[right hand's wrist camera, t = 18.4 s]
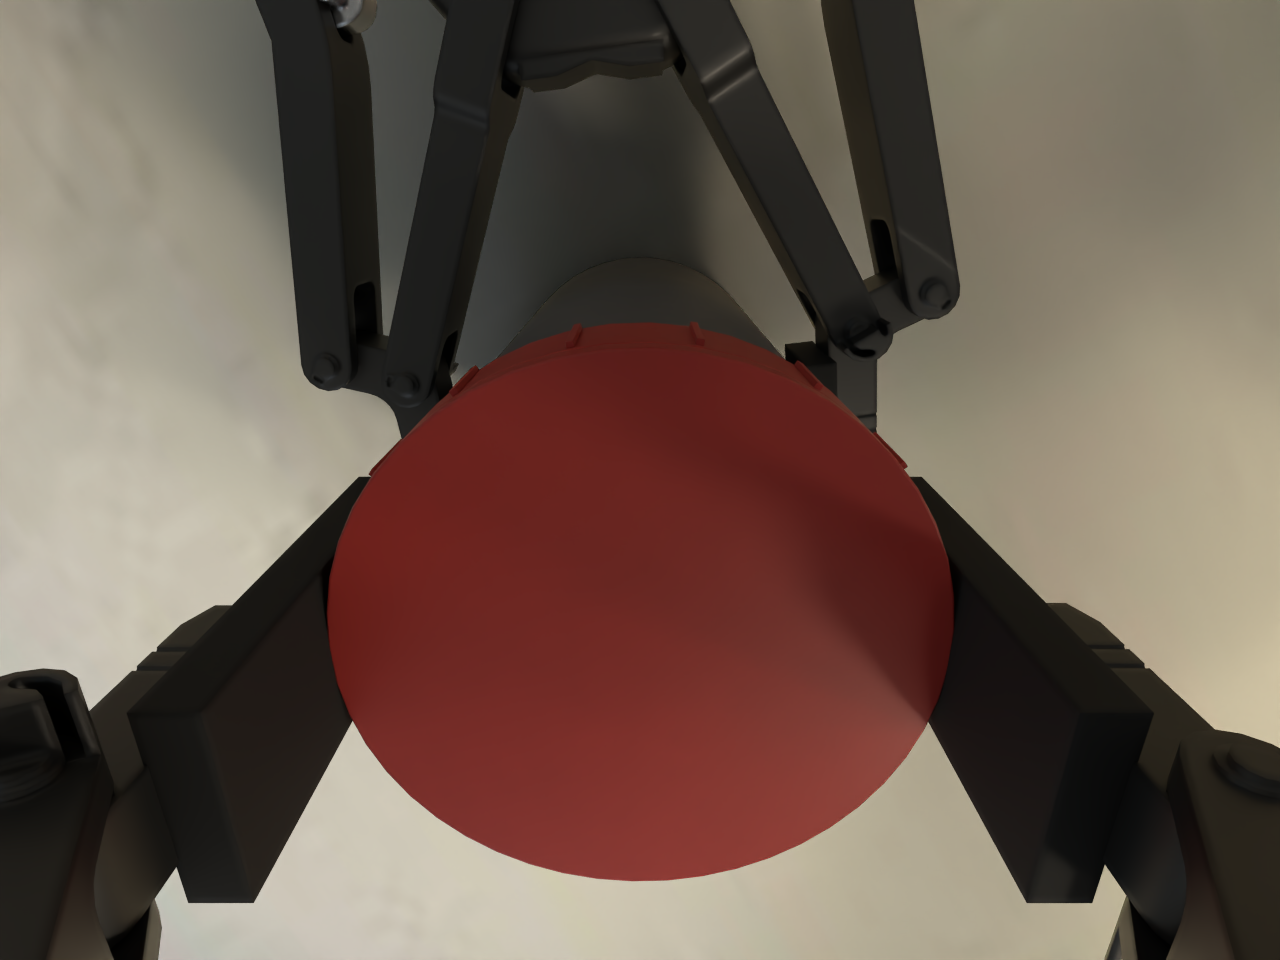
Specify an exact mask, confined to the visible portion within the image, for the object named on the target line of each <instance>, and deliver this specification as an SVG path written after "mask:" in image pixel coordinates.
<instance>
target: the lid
mask: <svg viewBox="0 0 1280 960" xmlns="http://www.w3.org/2000/svg"><path fill="white" fill-rule="evenodd" d="M907 467H908V466H907V465H906V463H905V462H904V461H903V460H902V459H901V457H900V456H899V455H898V454H897V453H896V452H895V451H894V450H893V449H892V448H891V447H890V446H889V445H888V444H887V443H886V442H885V441H884V440H883V439H882V438H881V437H880V436H879V435H878V434H877V433H876V432H874V433H872V432H871V431H870V430H869V429H868V428H867V427H866V426H865V425H864V424H863V423H862V422H861V421H860V420H859V419H858V418H857V417H856V416H855V415H854V414H853V413H852V412H851V411H850V410H849V409H848V408H847V407H846V406H845V405H844V404H843V403H842V402H841V401H840V400H839V399H838V398H837V397H836V396H835V395H834V394H833V393H832V392H831V391H830V390H829V389H828V388H826V387H825V386H824V385H823V384H822V383H821V382H820V381H819V380H818V379H817V378H816V377H815V376H814V375H813V374H812V373H811V372H810V370H809V369H808V368H807V367H806V366H805V365H804V364H803V363H801V362H800V361H798V360H797V362H796V363H795V364H792V363H790V362H788V361H786V360H785V359H783V358H781V357H779V356H777V355H775V354H774V353H772V352H770V351H768V350H766V349H764V348H761V347H758V346H756V345H753V344H751V343H748V342H745V341H743V340H740V339H737V338H735V337H732V336H730V335H725V334H721V333H717V332H713V331H708V330H704V329H700V327H699V325H698V323H697V322H692V321H691V322H690V326H682V325H672V324H661V323H651V322H647V323H619V324H605V325H600V326H594V327H588V328H582V325H581V323H579V324H574V325H573V327H572V329H571V330H570V331H567V332H563V333H560V334H557V335H554V336H551V337H547V338H544V339H541V340H538V341H534V342H531V343H529V344H527V345H525V346H523V347H521V348H519V349H516V350H514V351H512V352H510V353H508V354H506V355H504V356H501V357H499V358H497V359H495V360H494V361H492V362H491V363H489V364H488V365H486V366H485V367H483V368H482V369H480V370H479V369H478V367H477V366H476V365H475V366H474V367H472V368H471V369H470V370H469V371H468V372H467V373H466V374H465V375H464V376H463V377H462V378H461V379H460V380H459V381H458V382H457V383H456V384H455V385H454V386H453V387H452V388H451V390H450V391H449V394H447V395H446V396H445V397H444V398H443V399H442V400H440V401H439V402H438V403H437V404H436V405H435V406H434V407H433V408H432V409H431V410H430V411H429V412H428V413H427V414H426V415H425V416H424V418H423V419H422V420H421V421H420V422H419V423H418V424H417V425H416V426H415V427H414V428H413V429H412V430H411V431H410V432H409V433H408V434H407V435H406V436H405V437H404V438H403V439H400V440H399V441H398V443H397V444H396V445H395V446H394V447H393V448H392V449H391V450H390V451H389V452H388V453H387V454H386V455H385V456H384V457H383V458H382V459H381V460H380V461H379V462H378V463H377V464H376V465H375V466H374V467H373V468H372V470H371V471H370V473H369V475H370V476H371V478H370V480H369V481H368V483H367V484H366V486H365V488H364V489H363V491H362V493H361V494H360V496H359V497H358V499H357V501H356V502H355V504H354V505H353V507H352V510H351V512H350V514H349V517H348V519H347V522H346V524H345V526H344V529H343V531H342V533H341V536H340V538H339V541H338V544H337V548H336V552H335V556H334V560H333V565H332V569H331V573H330V577H329V588H328V600H327V613H326V614H327V627H328V639H329V645H330V651H331V656H332V661H333V666H334V671H335V676H336V681H337V684H338V687H339V689H340V692H341V694H342V697H343V700H344V702H345V705H346V707H347V710H348V712H349V715H350V717H351V718H352V720H353V722H354V724H355V725H356V727H357V729H358V731H359V733H360V734H361V736H362V738H363V740H364V741H365V743H366V745H367V746H368V747H369V749H370V750H371V751H372V753H373V754H374V755H375V757H376V758H377V759H378V761H379V762H380V763H381V765H382V766H383V767H384V769H385V770H386V771H387V772H388V773H389V775H390V776H391V777H392V778H393V779H394V780H395V781H396V782H397V783H398V784H399V785H400V786H401V787H402V788H403V789H404V790H405V791H406V792H407V793H408V794H409V795H410V796H411V797H412V798H413V799H415V800H416V801H417V802H418V803H420V804H421V805H422V806H423V807H424V808H426V809H427V810H428V811H429V812H431V813H432V814H433V815H434V816H436V817H437V818H438V819H440V820H441V821H443V822H445V823H446V824H448V825H449V826H451V827H452V828H454V829H455V830H457V831H459V832H460V833H462V834H463V835H465V836H466V837H468V838H470V839H472V840H474V841H476V842H478V843H480V844H482V845H484V846H486V847H488V848H490V849H492V850H494V851H496V852H499V853H502V854H504V855H507V856H510V857H512V858H515V859H517V860H520V861H523V862H525V863H528V864H531V865H535V866H539V867H542V868H546V869H550V870H554V871H557V872H561V873H566V874H572V875H578V876H584V877H590V878H596V879H608V880H622V881H661V880H674V879H683V878H691V877H699V876H705V875H710V874H714V873H719V872H723V871H728V870H732V869H737V868H740V867H743V866H746V865H749V864H752V863H755V862H758V861H761V860H764V859H768V858H770V857H773V856H775V855H777V854H779V853H782V852H784V851H786V850H788V849H791V848H793V847H795V846H798V845H800V844H802V843H804V842H805V841H807V840H809V839H811V838H812V837H814V836H816V835H818V834H819V833H821V832H823V831H825V830H826V829H828V828H830V827H831V826H833V825H834V824H836V823H837V822H838V821H840V820H841V819H842V818H844V817H845V816H847V815H848V814H849V813H851V812H852V811H853V810H855V809H856V808H858V807H859V806H860V805H861V804H862V803H863V802H864V801H865V800H866V799H868V798H869V797H870V796H871V795H872V794H873V793H874V792H875V791H876V790H877V789H878V788H880V787H881V786H882V785H883V784H884V783H885V782H886V780H887V779H888V778H889V777H890V776H891V775H892V773H893V772H894V771H895V770H896V769H897V767H898V766H899V765H900V764H901V763H902V762H903V760H904V759H905V758H906V757H907V755H908V754H909V752H910V751H911V749H912V747H913V746H914V744H915V743H916V741H917V740H918V738H919V737H920V735H921V734H922V732H923V731H924V729H925V727H926V725H927V723H928V720H929V718H930V716H931V714H932V712H933V710H934V708H935V706H936V704H937V701H938V699H939V697H940V693H941V690H942V687H943V684H944V680H945V675H946V671H947V666H948V661H949V655H950V649H951V644H952V638H953V633H954V591H953V585H952V579H951V573H950V567H949V561H948V557H947V554H946V551H945V548H944V545H943V542H942V539H941V536H940V533H939V530H938V527H937V524H936V522H935V520H934V518H933V516H932V514H931V512H930V510H929V508H928V506H927V504H926V503H925V501H924V499H923V497H922V495H921V493H920V491H919V489H918V488H917V486H916V485H915V484H914V482H913V481H912V479H911V478H910V477H909V475H908V474H907V473H906V471H905V470H904V469H905V468H907Z"/></svg>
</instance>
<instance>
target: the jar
mask: <svg viewBox="0 0 1280 960" xmlns="http://www.w3.org/2000/svg"><path fill="white" fill-rule="evenodd" d="M691 321H692V322H697V323H698V325H699V327H700V329H704V330H708V331H713V332H717V333H721V334H725V335H730V336H732V337H735V338H737V339H740V340H743V341H745V342H748V343H751V344H753V345H756V346H758V347H761V348H764V349H766V350H768V351H770V352H772V353H774V354H775V355H777V356H779V357H781V358H783V357H782V356H781V354H780V353H779V352H778V351H777V350H776V349H775V347H774V346H773V345H772V344H771V343H770V342H769V341H768V339H767V338H766V337H765V336H764V335H763V334H762V332H761V331H760V330H759V329H758V328H757V327H756V325H755V324H754V323H753V322H752V321H751V320H750V318H749V317H748V316H747V315H746V314H745V313H744V311H743V310H742V309H741V308H740V307H739V306H738V305H737V303H736V302H735V301H734V300H733V299H732V298H731V296H730V295H729V294H728V293H727V292H726V291H724V290H723V289H722V288H721V287H720V286H719V285H718V284H717V283H715V282H714V281H712V280H711V279H709V278H708V277H706V276H705V275H703V274H701V273H699V272H697V271H695V270H693V269H691V268H689V267H687V266H684V265H681V264H678V263H675V262H672V261H667V260H662V259H656V258H639V257H638V258H626V259H619V260H614V261H610V262H606V263H603V264H600V265H597V266H595V267H592V268H589V269H587V270H585V271H584V272H582V273H580V274H578V275H576V276H574V277H573V278H572V279H570V280H569V281H568V282H566V283H565V284H563V285H562V286H561V287H560V288H559V289H558V290H557V291H556V292H555V293H554V294H552V295H551V296H550V297H549V298H548V300H547V301H546V302H545V303H544V304H543V305H542V307H541V308H540V309H539V310H538V311H537V312H536V314H535V315H534V316H533V317H532V318H531V319H530V320H529V322H528V323H527V324H526V325H525V326H524V327H523V329H522V330H521V331H520V332H519V333H518V334H517V336H516V337H515V338H514V339H513V340H512V341H511V343H510V344H509V345H508V346H507V347H506V348H505V349H504V351H503V352H502V353H501V354H500V355H499V356H498V358H499V357H501V356H504V355H506V354H508V353H510V352H512V351H514V350H516V349H519V348H521V347H523V346H525V345H527V344H529V343H531V342H534V341H538V340H541V339H544V338H547V337H551V336H554V335H557V334H560V333H563V332H567V331H570V330H571V329H572V327H573V325H574V324H579V323H581V325H582V328H588V327H594V326H600V325H605V324H619V323H647V322H651V323H661V324H672V325H682V326H690V322H691ZM783 359H784V358H783Z"/></svg>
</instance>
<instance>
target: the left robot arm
mask: <svg viewBox="0 0 1280 960" xmlns="http://www.w3.org/2000/svg"><path fill="white" fill-rule="evenodd" d="M255 1H256V3H257V6H258V8H259V11H260V13H261V16H262V18H263V21H264V23H265V26H266V28H267V31H268V33H269V36H270V38H271V41H272V52H273V62H274V73H275V84H276V95H277V106H278V117H279V127H280V138H281V149H282V160H283V171H284V182H285V193H286V203H287V214H288V225H289V236H290V247H291V258H292V268H293V279H294V290H295V301H296V312H297V323H298V333H299V344H300V355H301V365H302V369H303V372H304V375H305V376H306V378H307V379H308V380H309V382H310V383H312V384H313V385H314V386H316V387H317V388H319V389H323V390H326V391H332V390H338V389H340V388H347V389H351V390H356V391H360V392H365V393H369V394H372V395H375V396H378V397H379V398H381V399H383V400H384V401H385V402H386V403H387V404H388V405H389V406H390V407H391V409H392V410H393V412H394V413H395V416H396V419H397V422H398V426H399V430H400V434H401V438H402V439H403V438H404V437H405V436H406V435H407V434H408V433H409V432H410V431H411V430H412V429H413V428H414V427H415V426H416V425H417V424H418V423H419V422H420V421H421V420H422V419H423V418H424V416H425V415H426V414H427V413H428V412H429V411H430V410H431V409H432V408H433V407H434V406H435V405H436V404H437V403H438V402H439V401H440V400H442V399H443V398H444V397H445V396H446V395H447V394H449V391H450V390H451V388H452V387H453V386H452V381H451V377H450V376H451V375H452V374H453V373H454V372H455V371H456V369H457V366H458V363H454V362H455V357H456V353H457V349H458V345H459V341H460V337H461V332H462V328H463V324H464V320H465V316H466V312H467V308H468V303H469V299H470V295H471V291H472V287H473V283H474V278H475V274H476V270H477V266H478V262H479V258H480V254H481V249H482V245H483V241H484V237H485V233H486V229H487V225H488V220H489V216H490V212H491V208H492V204H493V200H494V195H495V191H496V187H497V183H498V179H499V175H500V171H501V166H502V162H503V158H504V154H505V150H506V146H507V142H508V139H509V136H510V134H511V132H512V130H513V128H514V125H515V123H516V119H517V115H518V111H519V107H520V103H521V99H522V95H523V91H524V87H527V88H530V89H531V90H532V91H533V92H541V91H549V90H556V89H563V88H567V87H569V86H571V85H573V84H576V83H578V82H580V81H582V80H584V79H586V78H589V77H591V76H593V75H596V74H600V75H606V76H613V77H619V78H625V79H637V78H645V77H652V76H659V75H662V72H663V70H664V69H666V68H668V67H670V66H672V68H673V69H674V71H675V73H676V75H677V77H678V79H679V81H680V83H681V84H682V86H683V88H684V90H685V92H686V94H687V95H688V97H689V99H690V101H691V102H692V104H693V105H694V107H695V108H696V109H697V111H698V112H699V114H700V115H701V117H702V119H703V121H704V123H705V125H706V126H707V128H708V130H709V132H710V134H711V136H712V138H713V140H714V141H715V143H716V145H717V147H718V149H719V151H720V153H721V155H722V156H723V158H724V160H725V162H726V164H727V166H728V168H729V170H730V171H731V173H732V175H733V177H734V179H735V181H736V183H737V185H738V186H739V188H740V190H741V192H742V194H743V196H744V198H745V200H746V201H747V203H748V205H749V207H750V209H751V211H752V213H753V215H754V216H755V218H756V220H757V222H758V224H759V226H760V228H761V230H762V231H763V233H764V235H765V237H766V239H767V241H768V243H769V245H770V246H771V248H772V250H773V252H774V254H775V256H776V258H777V260H778V261H779V263H780V265H781V267H782V269H783V271H784V273H785V275H786V276H787V278H788V280H789V282H790V284H791V286H792V288H793V290H794V291H795V293H796V295H797V297H798V299H799V301H800V303H801V305H802V306H803V308H804V310H805V312H806V314H807V316H808V318H809V320H810V321H811V323H812V325H813V327H814V328H815V339H816V344H815V343H814V342H813V341H809V342H801V343H792V344H785V359H786V361H788V362H790V363H792V364H795V363H796V362H797V360H798V361H800V362H801V363H803V364H804V365H805V366H806V367H807V368H808V369H809V370H810V372H811V373H812V374H813V375H814V376H815V377H816V378H817V379H818V380H819V381H820V382H821V383H822V384H823V385H824V386H825V387H826V388H828V389H829V390H830V391H831V392H832V393H833V394H834V395H835V396H836V397H837V398H838V399H839V400H840V401H841V402H842V403H843V404H844V405H845V406H846V407H847V408H848V409H849V410H850V411H851V412H852V413H853V414H854V415H855V416H856V417H857V418H858V419H859V420H860V421H861V422H862V423H863V424H864V425H865V426H866V427H867V428H868V429H869V430H870V431H871V432H872V433H874V432H876V433H877V431H876V427H877V416H876V412H877V359H879V358H880V357H881V356H882V355H883V354H885V353H886V352H887V350H888V349H889V347H890V345H891V343H892V339H893V334H894V333H896V332H897V331H899V330H901V329H903V328H906V327H908V326H910V325H912V324H914V323H916V322H918V321H920V320H922V319H924V318H925V319H928V320H931V319H939V318H941V317H942V316H944V315H946V314H948V313H949V312H950V311H951V310H952V309H953V308H954V307H955V305H956V303H957V301H958V298H959V296H960V283H959V277H958V270H957V264H956V258H955V252H954V246H953V240H952V233H951V227H950V221H949V215H948V209H947V203H946V196H945V190H944V184H943V178H942V172H941V165H940V159H939V153H938V147H937V141H936V135H935V128H934V122H933V116H932V110H931V104H930V97H929V91H928V85H927V79H926V73H925V67H924V60H923V54H922V48H921V42H920V36H919V30H918V23H917V17H916V11H915V5H914V0H821V6H822V13H823V19H824V26H825V31H826V36H827V41H828V46H829V51H830V56H831V61H832V66H833V71H834V75H835V80H836V85H837V90H838V95H839V100H840V105H841V110H842V115H843V120H844V125H845V130H846V135H847V139H848V144H849V149H850V154H851V159H852V164H853V169H854V174H855V179H856V184H857V189H858V194H859V199H860V203H861V208H862V213H863V218H864V223H865V228H866V233H867V238H868V243H869V248H870V253H871V258H872V262H873V267H874V272H875V275H873V276H871V277H869V278H867V279H865V280H862V278H861V276H860V274H859V272H858V270H857V268H856V266H855V264H854V262H853V260H852V258H851V256H850V254H849V252H848V250H847V248H846V246H845V244H844V242H843V240H842V238H841V236H840V234H839V232H838V230H837V228H836V226H835V224H834V222H833V220H832V218H831V216H830V214H829V212H828V210H827V208H826V205H825V203H824V201H823V199H822V197H821V195H820V193H819V191H818V189H817V187H816V185H815V183H814V181H813V179H812V177H811V175H810V173H809V171H808V169H807V167H806V165H805V163H804V161H803V159H802V157H801V155H800V153H799V151H798V149H797V147H796V145H795V143H794V141H793V139H792V137H791V135H790V133H789V131H788V129H787V127H786V125H785V123H784V121H783V119H782V117H781V115H780V113H779V111H778V109H777V107H776V105H775V103H774V101H773V99H772V97H771V95H770V93H769V91H768V89H767V87H766V85H765V83H764V81H763V79H762V77H761V74H760V72H759V70H758V68H757V65H756V61H755V56H754V52H753V49H752V46H751V44H750V42H749V39H748V37H747V35H746V33H745V31H744V29H743V27H742V25H741V23H740V21H739V19H738V17H737V15H736V13H735V11H734V9H733V7H732V4H731V2H730V0H429V1H430V2H431V3H432V4H433V6H434V7H435V8H436V9H437V10H438V11H439V12H440V14H441V15H442V16H443V17H444V18H445V19H446V20H447V21H446V26H445V31H444V36H443V41H442V46H441V50H440V55H439V60H438V65H437V70H436V75H435V81H434V89H433V99H434V106H435V113H434V119H433V124H432V129H431V134H430V139H429V144H428V149H427V153H426V158H425V163H424V168H423V173H422V178H421V183H420V188H419V193H418V197H417V202H416V207H415V212H414V217H413V222H412V227H411V232H410V237H409V242H408V246H407V251H406V256H405V261H404V266H403V271H402V276H401V281H400V286H399V290H398V295H397V300H396V305H395V310H394V315H393V320H392V325H391V330H390V335H389V336H385V335H383V324H382V304H381V284H380V263H379V243H378V222H377V202H376V182H375V161H374V141H373V120H372V100H371V84H370V74H369V65H368V60H367V55H366V50H365V46H364V42H363V39H362V35H361V33H362V32H363V31H365V30H367V29H368V28H369V27H370V26H371V25H372V24H373V22H374V20H375V17H376V13H377V0H255Z"/></svg>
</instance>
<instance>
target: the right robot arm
mask: <svg viewBox="0 0 1280 960" xmlns="http://www.w3.org/2000/svg"><path fill="white" fill-rule="evenodd" d="M370 478H371V477H358V478H357V479H356V480H355V481H354V482H353V483H352V484H351V485H350V486H349V487H348V488H347V489H346V490H345V491H344V492H343V493H342V494H341V495H340V496H339V498H338V499H337V500H336V501H335V502H334V503H333V504H332V505H331V506H330V507H329V508H328V509H327V510H326V511H325V512H324V513H323V514H322V515H321V516H320V517H319V518H318V519H317V520H316V521H315V522H314V523H313V524H312V525H311V526H310V527H309V528H308V529H307V530H306V531H305V532H304V533H303V534H302V535H301V536H300V537H299V538H298V539H297V540H296V541H295V542H294V543H293V544H292V545H291V546H290V547H289V548H288V549H287V550H286V551H285V552H284V553H283V554H282V555H281V556H280V557H279V558H278V559H277V560H276V561H275V562H274V563H273V565H272V566H271V567H270V568H269V569H268V570H267V571H266V572H265V573H264V574H263V575H262V576H261V577H260V578H259V579H258V580H257V581H256V582H255V583H254V584H253V585H252V586H251V587H250V588H249V589H248V590H247V591H246V592H245V593H244V594H243V595H242V596H241V597H240V598H239V599H238V600H237V601H236V602H235V603H234V604H233V605H215V606H213V607H212V608H210V609H208V610H206V611H204V612H203V613H201V614H199V615H197V616H196V617H194V618H192V619H190V620H188V621H187V622H185V623H183V624H181V625H180V626H179V627H178V628H177V629H176V630H175V631H174V632H173V633H172V634H171V635H169V636H168V637H167V638H166V639H165V640H164V641H163V642H162V643H161V644H160V645H159V646H158V647H157V651H156V652H151V653H150V654H149V655H148V656H147V657H146V658H145V659H144V660H143V661H142V662H141V663H140V664H139V665H138V666H137V670H136V671H131V672H130V673H129V674H128V675H127V676H126V677H125V678H124V679H123V680H122V681H121V682H120V683H119V684H118V685H117V686H115V687H114V688H113V689H112V690H111V691H110V692H109V693H108V694H107V695H106V696H105V697H104V698H103V699H102V700H101V701H100V702H98V703H97V704H96V705H95V706H94V707H93V708H92V709H91V710H90V711H89V710H88V707H87V704H86V701H85V699H84V696H83V693H82V690H81V687H80V684H79V681H78V679H77V677H75V676H73V675H72V674H70V673H68V672H67V671H65V670H55V669H36V670H29V671H22V672H15V673H11V674H8V675H4V676H1V677H0V960H158V955H159V946H160V938H161V930H162V926H161V920H160V914H159V910H158V907H157V904H156V902H155V897H156V896H157V894H158V893H159V891H160V890H161V889H162V887H163V886H164V884H165V883H166V881H167V880H168V878H169V877H170V875H171V874H172V872H173V871H174V870H175V868H176V867H177V870H178V873H179V876H180V879H181V882H182V885H183V888H184V891H185V894H186V897H187V900H188V903H254V901H255V900H256V898H257V896H258V894H259V892H260V890H261V888H262V887H263V885H264V883H265V881H266V879H267V877H268V876H269V874H270V872H271V870H272V868H273V866H274V865H275V863H276V861H277V859H278V857H279V855H280V853H281V852H282V850H283V848H284V846H285V844H286V842H287V841H288V839H289V837H290V835H291V833H292V831H293V830H294V828H295V826H296V824H297V822H298V820H299V818H300V817H301V815H302V813H303V811H304V809H305V807H306V806H307V804H308V802H309V800H310V798H311V796H312V795H313V793H314V791H315V789H316V787H317V785H318V783H319V782H320V780H321V778H322V776H323V774H324V772H325V771H326V769H327V767H328V765H329V763H330V761H331V760H332V758H333V756H334V754H335V752H336V750H337V748H338V747H339V745H340V743H341V741H342V739H343V737H344V736H345V734H346V732H347V730H348V728H349V726H350V725H351V723H352V721H353V720H352V718H351V717H350V715H349V712H348V710H347V707H346V705H345V702H344V700H343V697H342V694H341V692H340V689H339V687H338V684H337V681H336V676H335V671H334V666H333V661H332V656H331V651H330V645H329V639H328V627H327V614H326V613H327V600H328V588H329V577H330V573H331V569H332V565H333V560H334V556H335V552H336V548H337V544H338V541H339V538H340V536H341V533H342V531H343V529H344V526H345V524H346V522H347V519H348V517H349V514H350V512H351V510H352V507H353V505H354V504H355V502H356V501H357V499H358V497H359V496H360V494H361V493H362V491H363V489H364V488H365V486H366V484H367V483H368V481H369V480H370ZM910 478H911V479H912V481H913V482H914V484H915V485H916V486H917V488H918V489H919V491H920V493H921V495H922V497H923V499H924V501H925V503H926V504H927V506H928V508H929V510H930V512H931V514H932V516H933V518H934V520H935V522H936V524H937V527H938V530H939V533H940V536H941V539H942V542H943V545H944V548H945V551H946V554H947V557H948V561H949V567H950V573H951V579H952V585H953V591H954V633H953V638H952V644H951V649H950V655H949V661H948V666H947V671H946V675H945V680H944V684H943V687H942V690H941V693H940V697H939V699H938V701H937V704H936V706H935V708H934V710H933V712H932V714H931V716H930V718H929V720H928V722H929V724H930V726H931V727H932V729H933V731H934V733H935V735H936V737H937V738H938V740H939V742H940V744H941V746H942V748H943V749H944V751H945V753H946V755H947V757H948V759H949V761H950V762H951V764H952V766H953V768H954V770H955V772H956V773H957V775H958V777H959V779H960V781H961V783H962V784H963V786H964V788H965V790H966V792H967V794H968V796H969V797H970V799H971V801H972V803H973V805H974V807H975V808H976V810H977V812H978V814H979V816H980V818H981V819H982V821H983V823H984V825H985V827H986V829H987V831H988V832H989V834H990V836H991V838H992V840H993V842H994V843H995V845H996V847H997V849H998V851H999V853H1000V854H1001V856H1002V858H1003V860H1004V862H1005V864H1006V866H1007V867H1008V869H1009V871H1010V873H1011V875H1012V877H1013V878H1014V880H1015V882H1016V884H1017V886H1018V888H1019V889H1020V891H1021V893H1022V895H1023V897H1024V899H1025V900H1026V902H1027V903H1092V902H1093V899H1094V896H1095V893H1096V890H1097V887H1098V884H1099V881H1100V877H1101V874H1102V871H1103V868H1104V865H1106V866H1107V868H1108V869H1109V871H1110V872H1111V874H1112V875H1113V877H1114V878H1115V879H1116V881H1117V882H1118V884H1119V885H1120V887H1121V888H1122V890H1123V891H1124V892H1125V894H1126V895H1127V896H1126V899H1125V902H1124V904H1123V907H1122V910H1121V913H1120V916H1119V919H1118V922H1117V924H1116V927H1115V930H1114V933H1113V936H1112V939H1111V942H1110V944H1109V947H1108V950H1107V953H1106V956H1105V960H1280V748H1278V747H1276V746H1274V745H1272V744H1270V743H1267V742H1264V741H1261V740H1258V739H1255V738H1252V737H1249V736H1246V735H1243V734H1239V733H1233V732H1227V731H1220V730H1215V729H1214V728H1213V727H1212V726H1210V725H1209V724H1208V723H1207V722H1206V721H1205V720H1204V719H1203V718H1202V717H1201V716H1200V715H1199V714H1198V713H1197V712H1196V711H1194V710H1193V709H1192V708H1191V707H1190V706H1189V705H1188V704H1187V703H1186V702H1185V701H1184V700H1183V699H1182V698H1181V697H1180V696H1178V695H1177V694H1176V693H1175V692H1174V691H1173V690H1172V689H1171V688H1170V687H1169V686H1168V685H1167V684H1166V683H1165V682H1164V681H1162V680H1161V679H1160V678H1159V677H1158V676H1157V675H1156V674H1155V673H1154V672H1153V671H1152V670H1151V669H1150V668H1145V667H1144V663H1143V662H1142V661H1141V660H1140V659H1139V658H1138V657H1137V656H1136V655H1135V654H1134V653H1133V652H1131V651H1130V650H1129V649H1125V648H1124V644H1123V643H1122V642H1121V641H1120V640H1119V639H1118V638H1117V637H1115V636H1114V635H1113V634H1112V633H1111V632H1110V631H1109V630H1108V629H1107V628H1106V627H1105V626H1104V625H1103V624H1102V623H1101V622H1099V621H1097V620H1095V619H1094V618H1092V617H1090V616H1088V615H1086V614H1085V613H1083V612H1081V611H1079V610H1077V609H1076V608H1074V607H1072V606H1070V605H1068V604H1067V603H1045V602H1044V601H1043V600H1042V599H1041V597H1040V596H1039V595H1038V594H1037V593H1036V592H1035V591H1034V590H1033V589H1032V588H1031V587H1030V586H1029V585H1028V584H1027V583H1026V582H1025V581H1024V580H1023V579H1022V578H1021V577H1020V576H1019V575H1018V574H1017V573H1016V572H1015V571H1014V570H1013V569H1012V568H1011V567H1010V566H1009V565H1008V564H1007V563H1006V562H1005V561H1004V560H1003V559H1002V558H1001V557H1000V556H999V555H998V554H997V553H996V552H995V551H994V550H993V549H992V548H991V547H990V546H989V545H988V544H987V543H986V542H985V541H984V540H983V539H982V538H981V537H980V536H979V535H978V534H977V533H976V532H975V531H974V529H973V528H972V527H971V526H970V525H969V524H968V523H967V522H966V521H965V520H964V519H963V518H962V517H961V516H960V515H959V514H958V513H957V512H956V511H955V510H954V509H953V508H952V507H951V506H950V505H949V504H948V503H947V502H946V501H945V500H944V499H943V498H942V497H941V496H940V495H939V494H938V493H937V492H936V491H935V490H934V489H933V488H932V487H931V486H930V485H929V484H928V483H927V482H926V481H925V480H924V479H923V478H922V477H910Z"/></svg>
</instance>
